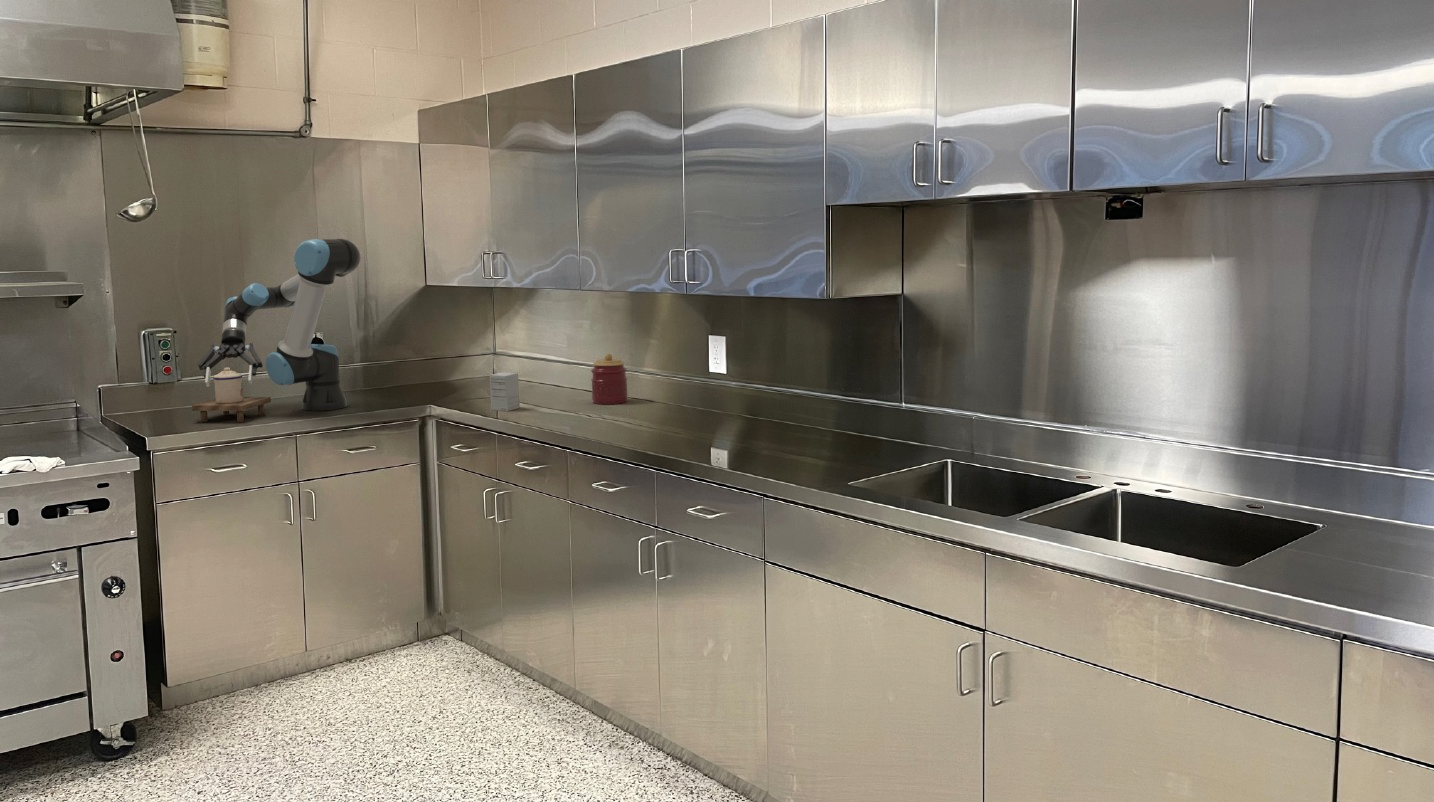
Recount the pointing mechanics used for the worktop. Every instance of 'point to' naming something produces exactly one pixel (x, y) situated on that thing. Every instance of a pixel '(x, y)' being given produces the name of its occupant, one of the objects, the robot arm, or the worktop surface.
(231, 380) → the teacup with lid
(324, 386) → the robot arm
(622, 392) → the canister
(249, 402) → the brown wooden stand
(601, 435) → the worktop surface
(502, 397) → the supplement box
